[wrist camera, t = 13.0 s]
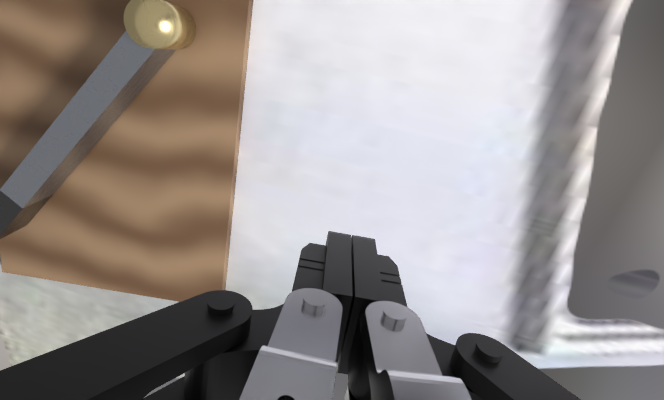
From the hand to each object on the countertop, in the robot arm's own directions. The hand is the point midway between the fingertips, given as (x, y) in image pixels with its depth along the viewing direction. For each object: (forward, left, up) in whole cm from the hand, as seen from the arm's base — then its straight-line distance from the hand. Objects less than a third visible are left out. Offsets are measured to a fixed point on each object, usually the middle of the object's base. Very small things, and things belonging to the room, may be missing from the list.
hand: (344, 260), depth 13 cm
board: (+6, -22, -27) cm, 35 cm away
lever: (+4, -23, -25) cm, 34 cm away
